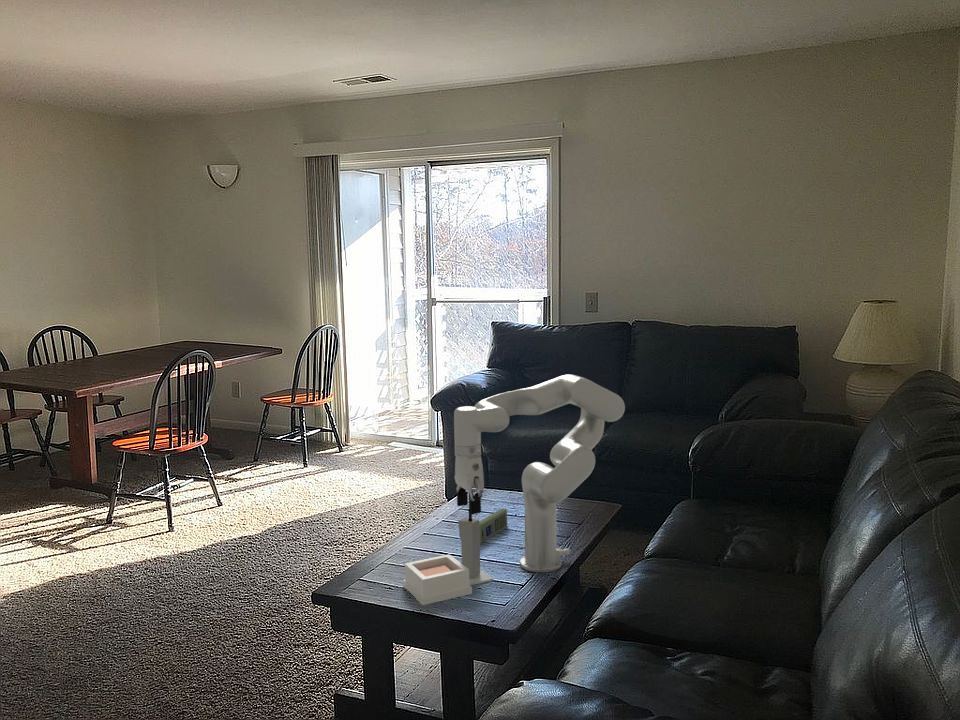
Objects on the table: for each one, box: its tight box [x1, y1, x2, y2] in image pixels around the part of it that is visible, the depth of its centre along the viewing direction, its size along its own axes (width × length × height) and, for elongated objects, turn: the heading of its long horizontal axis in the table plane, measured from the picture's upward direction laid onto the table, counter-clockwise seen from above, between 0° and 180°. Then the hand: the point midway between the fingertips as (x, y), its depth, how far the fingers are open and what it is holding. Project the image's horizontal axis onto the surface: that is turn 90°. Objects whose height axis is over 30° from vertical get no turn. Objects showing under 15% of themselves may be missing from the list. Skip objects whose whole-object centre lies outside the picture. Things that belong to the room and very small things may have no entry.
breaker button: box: [419, 565, 451, 576], centre depth 226 cm, size 8×7×3 cm
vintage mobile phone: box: [457, 493, 481, 579], centre depth 234 cm, size 4×5×25 cm
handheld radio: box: [479, 508, 509, 545], centre depth 267 cm, size 7×3×25 cm
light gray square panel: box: [469, 568, 494, 587], centre depth 235 cm, size 10×10×1 cm
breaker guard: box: [402, 553, 473, 606], centre depth 226 cm, size 15×14×7 cm
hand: (468, 508), depth 232 cm, fingers open, 7 cm apart
